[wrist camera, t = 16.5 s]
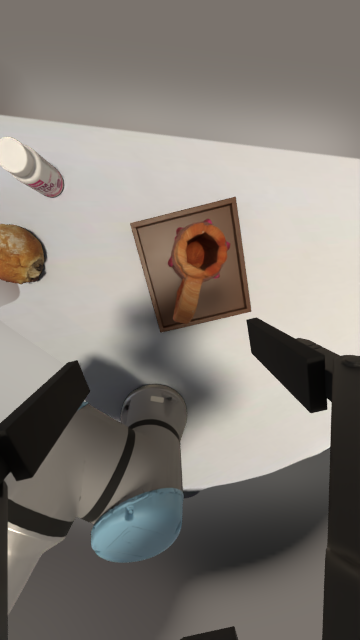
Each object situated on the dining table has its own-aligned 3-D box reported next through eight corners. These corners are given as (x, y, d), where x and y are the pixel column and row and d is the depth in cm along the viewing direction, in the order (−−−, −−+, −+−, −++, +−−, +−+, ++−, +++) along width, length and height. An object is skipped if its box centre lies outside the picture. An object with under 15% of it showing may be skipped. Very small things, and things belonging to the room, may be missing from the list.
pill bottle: (54, 204, 34) (17, 184, 26) (30, 182, 33) (-17, 155, 25) (70, 181, 33) (36, 154, 25) (45, 158, 32) (2, 122, 24)
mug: (178, 224, 35) (181, 196, 21) (220, 238, 36) (251, 220, 21) (158, 301, 39) (148, 322, 24) (196, 312, 40) (210, 339, 25)
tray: (247, 309, 40) (251, 311, 38) (161, 329, 41) (160, 332, 39) (232, 200, 35) (235, 196, 33) (132, 225, 35) (130, 223, 33)
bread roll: (48, 231, 38) (9, 201, 31) (58, 278, 37) (19, 259, 29) (3, 248, 39) (-47, 222, 31) (11, 294, 37) (-40, 280, 29)
